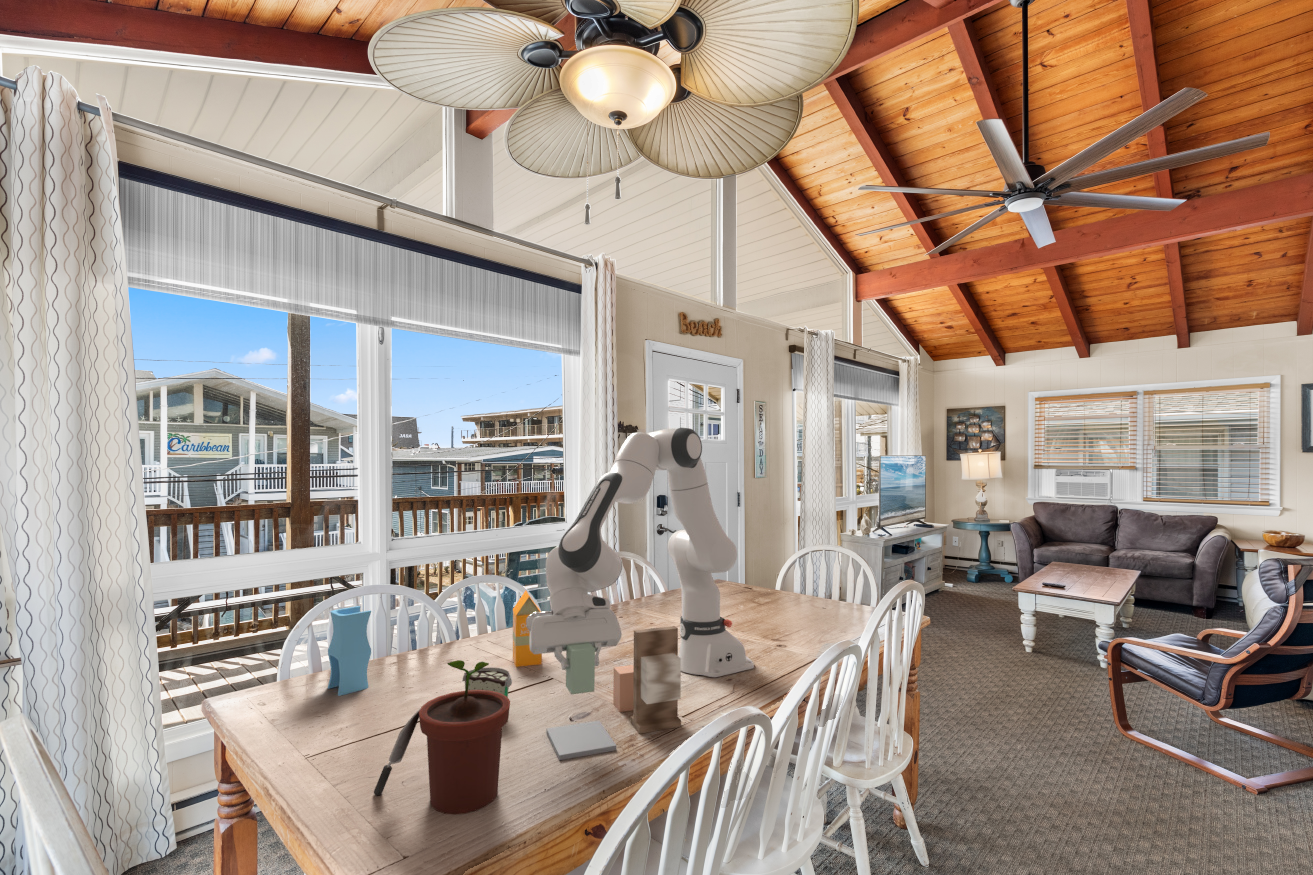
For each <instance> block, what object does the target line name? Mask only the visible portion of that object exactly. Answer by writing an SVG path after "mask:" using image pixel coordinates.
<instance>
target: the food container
mask: <svg viewBox="0 0 1313 875" xmlns="http://www.w3.org/2000/svg"><path fill="white" fill-rule="evenodd" d="M473 670H474V669H469V670H468V672H469V674H470V673H471V672H472V671H473ZM462 676H463V677H462V682H464V688H465V687H466V680H467V674H466V672H465V671H464V674H463V675H462ZM512 684H513V680H512V675H511V674H510V672H509V671H508V670H507V669H505V668H500V667H492V666H491V667H484V668H482V669H480V670H478V671H477V672H474V673H473V674H472V675H471V676H470V677H469V685H468V690H488V691H494V692H498V693H501V694H503V695H505V696H507V697H508V698H509V688H510V687H511V686H512Z"/></svg>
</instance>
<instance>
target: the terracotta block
mask: <svg viewBox="0 0 1313 875" xmlns="http://www.w3.org/2000/svg"><path fill="white" fill-rule="evenodd" d="M633 690H634V664H629V665H628V664H627V665H622V666H614V667H613V692H612V693H613V698H612V700H613V706H614V707H615V708H616V709H617V711H618V712H619V713H623V712H629V711H633Z"/></svg>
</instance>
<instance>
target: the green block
mask: <svg viewBox="0 0 1313 875" xmlns="http://www.w3.org/2000/svg"><path fill="white" fill-rule="evenodd" d="M565 652H566V653H565V655H566V657H565V658H569V663H570V668H569V669H566V670H565V687H566V689H567V690H568V692H569V693H570V695H577V694H579V695H580V694H585V693H592V692H594V693H595V678H596V677H595V675H596V674H595V673H596V672H595V670H596V666H595V654H596V652H595V648H594V647H593V646H592V645H591V644H590V643H583V644H573V645H566V651H565Z"/></svg>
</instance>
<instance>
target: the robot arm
mask: <svg viewBox="0 0 1313 875" xmlns="http://www.w3.org/2000/svg"><path fill="white" fill-rule="evenodd" d="M702 452H703V444H702V441H701V437H700V436H699V434H698V433H697V432H696V431H695V430H694V429H693V428H689V427H688V428H687V427H678V428H664V429H663V428H662V429H659V430H654V431H650V432H647V433H646V432H643V431H642V432H640V431H638V432H632V433H630V434H629V435H628V436H627V437H626V438H625V440H624V441H623V443H622V444H621V447H620V448H619V449H618V451H617V454H616V456H615V458H614V460H613V463H612V465H611V468H610V470H609V471H608V472H607V473H605V474H603V475H602V476H601V477H600V478H599V479H598V481H597V482H596V484H594V487H593V488H592V490H591V492H590V494H589V495H588V497H587V499H586V501H585V502H584V504H583V506H582V508H581V509H580V512H579V514H578V515H577V516H576V518H575V520H574V522H573V523H572V524H571V526H570V527H568V529H567V530H566V532H565V533H564V534H563V536H562V537H561V540H560V541H559V543H558V545H557V546H556V547H554V548H553V549H551V550H550V552H548V554H547V557H546V560H545V577H546V578H545V579H546V585H547V589H548V591H549V594H550V595H549V606H550V610H549V611H546V610H545V611H541V612H534V613H532V614H531V615H529V616H528V617H527V619H526V625H527V629H528V630H529V631H530V638H529V644H530V651H531V652H532V653H533V654H542V655H543V654H550V653H553V654H554V655H553V656H554V658H556V660H558V662H559V664H560V666H561V671H564V670H565V671H566V669H569V668H570V663H569V658H566V657H565V656H564V655H563V652H566V645H573V644H583V643H590V644H591V645H592V646H593V647H594V648H595V667H599V665H600V658H599V657H600V656H599V654H600V652H601V650H602V648H607V647H609V648H610V647H616V646H618V644H619V643H620V641H621V639H622V636H623V635H622V634H623V633H622V630H621V626H620V622H619V620H618V617H617V615H616V614H615V612H614V611H613V610H612V609H611V601H610V599H609V598H606V597H601V596H597V595H593V594H589V593H593V592H596V591H600V590H603V589H606V588H609V587H611V586H612V585H614V584H615V583H616V582H617V581H618V579H619V578H620V575H621V573H622V570H623V562H622V559H621V557H620V556H619V555H618V554H617V552H616V551H615V550H614V549H613V548H612V547H611V546H610V545H608V543H607V542H606V541H605V540H604V539H603V536H602V527H603V525H604V523H605V521H606V519H607V518H608V515H609V514H610V511H611V510H612V508H613V506H614V504H615V503H619V504H627V505H630V504H631V505H632V504H635V503H638V502H640V501H643V500H644V499H645V498H646V496H647V495H648V492H649V491H650V488H651V487H652V483H653V480H654V476H655V474H656V472H657V471H667V479H668V487H669V491H670V497H671V498H670V499H671V502H672V508H673V511H674V515H675V518H676V519H677V520H678V521H679V522H680V524H681V525H682V527H683V528H684V529H680V530H676V531H675V532H673V533H672V534H671V536H670V537H669V539H668V541H667V552H668V555H669V556H670V558H671V559H672V561H673V562H674V565H675V568H676V572H677V575H678V580H679V584H680V591H681V616H680V618H679V619H680V622H679V623H680V624H679V632H680V633H679V636H680V645H679V650H678V657H680V658H681V672H682V673H687V674H690V675H696V676H697V675H698V676H699V675H700V676H705V677H709V678H718V677H722V676H726V675H731V674H735V673H739V672H744V671H748V670H753V669H755V663H754V662H753V660H752V659H751V658H750V657H748V656H747V654H746V649H745V645H744V644H743V643H742V642H741V640H739V638H737V637H736V636H735V635H733V634H732V633H731V632H730V631H729V630H727V629H726V627H727V628H732V626H733V622H732V620H730V619H727V618H726V619H725V618H724V617H722V616H721V591H720V588H719V586H718V585H717V584H716V583H715V579H714V577H713V575H712V574H719V573H726V572H729V571H730V570H731V569H732V568H734V565H735V564H736V561H737V558H738V551H737V547H736V544H735V543H734V542H733V540H731V538H730V537H728V536H727V534H726V532H725V530H724V528H723V527H722V525H721V523H720V521H719V519H718V517H717V515H716V513H715V512H716V511H715V510H714V506H713V502H712V498H711V493H710V487H709V482H708V479H707V478H708V476H707V474H706V470H705V466H704V463H703V460H702V457H701V455H702V454H703V453H702ZM531 616H532V617H531Z"/></svg>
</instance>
